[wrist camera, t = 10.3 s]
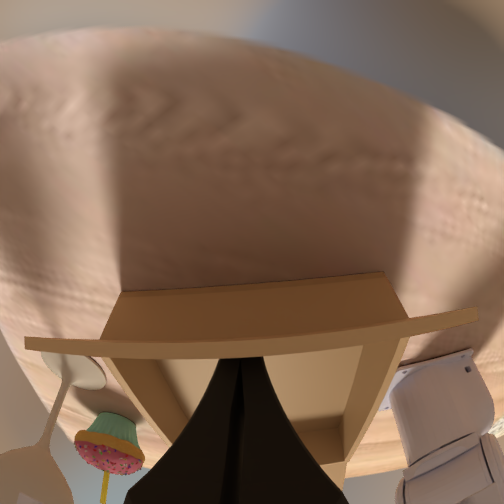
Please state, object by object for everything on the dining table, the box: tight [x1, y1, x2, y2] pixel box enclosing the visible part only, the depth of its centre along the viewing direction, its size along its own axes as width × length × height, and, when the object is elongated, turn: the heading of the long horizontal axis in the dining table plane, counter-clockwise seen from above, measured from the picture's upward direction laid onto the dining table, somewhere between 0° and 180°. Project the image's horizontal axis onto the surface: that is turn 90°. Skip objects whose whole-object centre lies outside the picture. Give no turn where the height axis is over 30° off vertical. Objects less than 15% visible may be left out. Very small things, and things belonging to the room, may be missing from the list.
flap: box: [24, 306, 479, 359], centre depth 11 cm, size 17×6×1 cm
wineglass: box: [0, 351, 106, 504], centre depth 15 cm, size 8×8×21 cm
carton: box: [100, 271, 410, 466], centre depth 22 cm, size 17×22×5 cm
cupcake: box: [74, 412, 145, 504], centre depth 25 cm, size 9×8×12 cm
